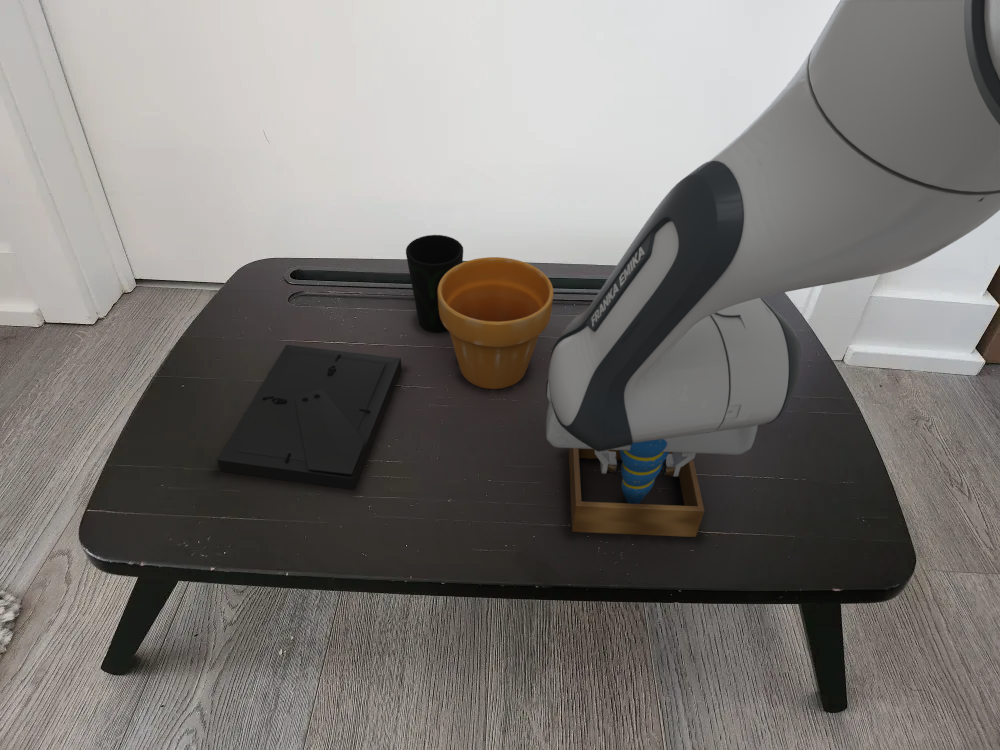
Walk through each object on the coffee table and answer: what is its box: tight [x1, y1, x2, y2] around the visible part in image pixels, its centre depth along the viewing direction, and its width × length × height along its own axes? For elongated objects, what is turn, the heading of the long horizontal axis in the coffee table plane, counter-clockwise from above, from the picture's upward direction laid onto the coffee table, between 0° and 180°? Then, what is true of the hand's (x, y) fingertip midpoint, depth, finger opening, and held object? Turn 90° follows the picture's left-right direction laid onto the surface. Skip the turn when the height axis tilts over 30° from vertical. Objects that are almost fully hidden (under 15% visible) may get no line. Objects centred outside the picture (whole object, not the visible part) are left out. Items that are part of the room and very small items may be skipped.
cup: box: [405, 234, 464, 334], centre depth 100 cm, size 8×8×12 cm
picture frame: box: [217, 344, 403, 491], centre depth 88 cm, size 16×3×21 cm
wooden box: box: [568, 448, 705, 538], centre depth 80 cm, size 13×11×4 cm
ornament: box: [620, 439, 669, 504], centre depth 75 cm, size 5×5×15 cm
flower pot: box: [438, 256, 554, 390], centre depth 93 cm, size 14×14×13 cm
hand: (638, 470), depth 76 cm, fingers open, 5 cm apart
